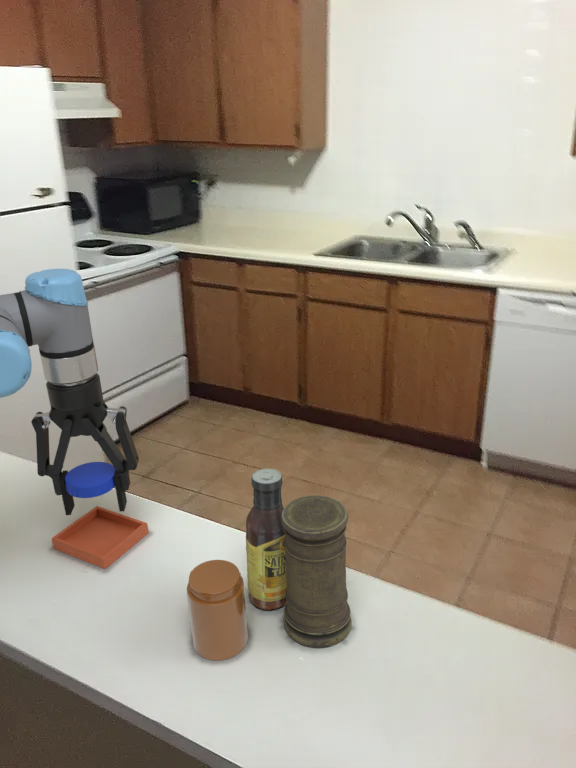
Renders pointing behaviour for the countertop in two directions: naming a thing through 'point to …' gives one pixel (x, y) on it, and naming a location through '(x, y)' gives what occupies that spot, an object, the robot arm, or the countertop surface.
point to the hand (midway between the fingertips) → (96, 508)
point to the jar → (217, 610)
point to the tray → (100, 536)
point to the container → (316, 571)
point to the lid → (90, 479)
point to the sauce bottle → (266, 542)
